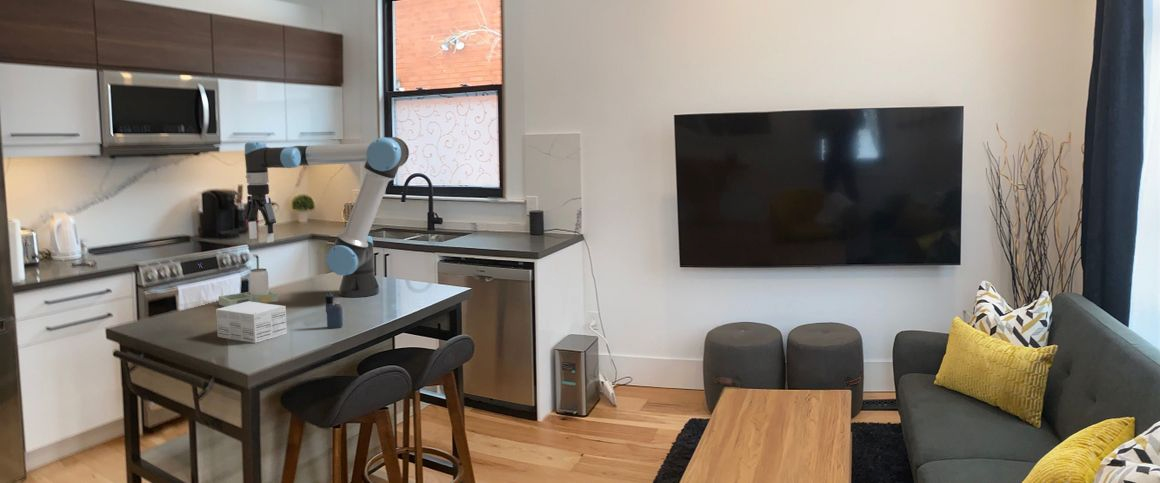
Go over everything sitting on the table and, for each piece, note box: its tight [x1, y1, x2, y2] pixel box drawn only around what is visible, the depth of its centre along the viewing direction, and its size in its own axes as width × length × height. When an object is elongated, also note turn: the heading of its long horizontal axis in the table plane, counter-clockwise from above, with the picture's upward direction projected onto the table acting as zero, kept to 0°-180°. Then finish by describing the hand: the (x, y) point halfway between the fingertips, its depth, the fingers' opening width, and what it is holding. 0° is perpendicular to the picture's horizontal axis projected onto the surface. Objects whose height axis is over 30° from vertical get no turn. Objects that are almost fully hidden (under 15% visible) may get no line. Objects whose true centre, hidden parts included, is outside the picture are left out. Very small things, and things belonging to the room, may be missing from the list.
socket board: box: [218, 290, 279, 307], centre depth 302 cm, size 10×18×3 cm, turn 135°
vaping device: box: [324, 291, 344, 329], centre depth 267 cm, size 3×5×12 cm, turn 95°
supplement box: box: [215, 301, 288, 344], centre depth 258 cm, size 17×13×9 cm
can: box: [249, 268, 270, 296], centre depth 305 cm, size 6×6×12 cm
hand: (261, 240), depth 305 cm, fingers open, 13 cm apart
